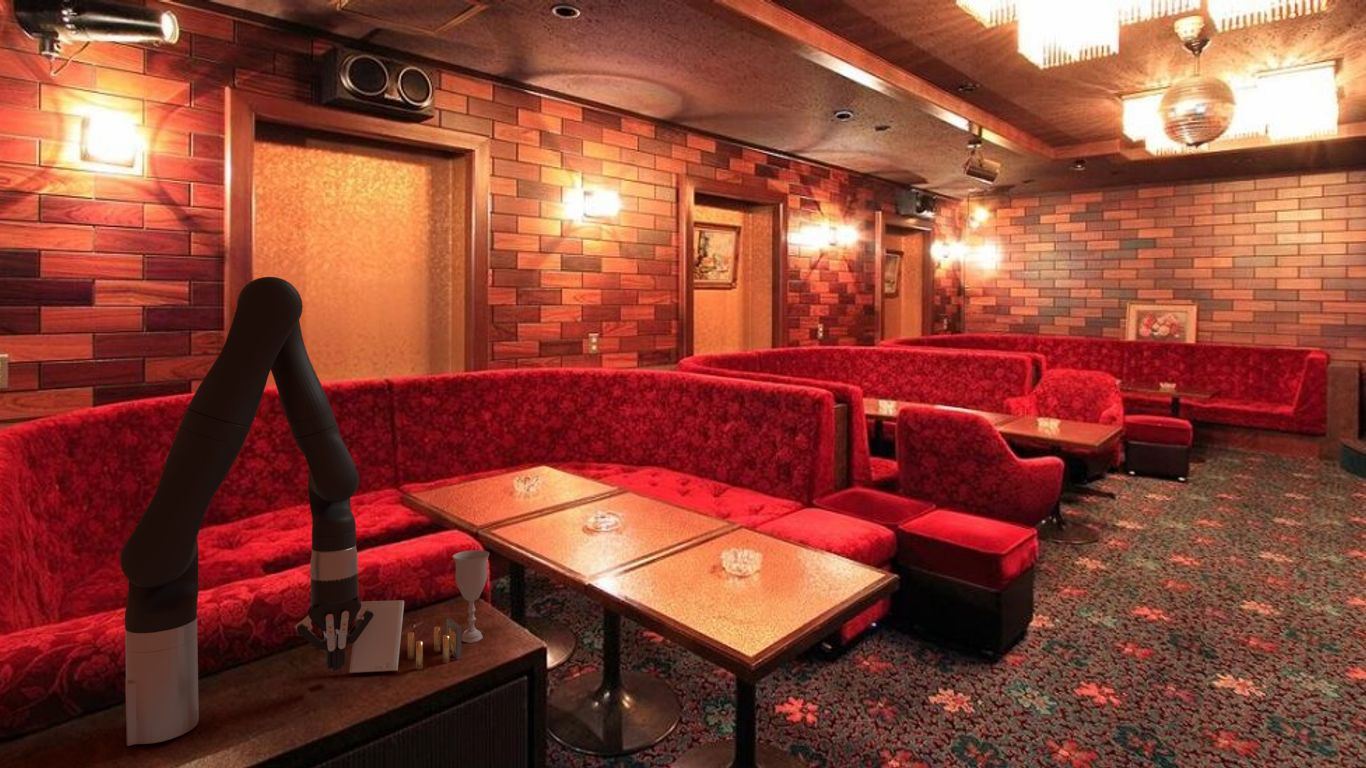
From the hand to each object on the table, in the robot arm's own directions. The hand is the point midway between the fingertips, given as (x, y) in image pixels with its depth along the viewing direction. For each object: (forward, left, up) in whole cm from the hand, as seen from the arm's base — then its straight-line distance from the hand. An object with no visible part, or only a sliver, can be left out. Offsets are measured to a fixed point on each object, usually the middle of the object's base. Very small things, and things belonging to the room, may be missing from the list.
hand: (335, 668), depth 127 cm
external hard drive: (+6, 0, -2) cm, 7 cm away
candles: (+16, 0, -2) cm, 17 cm away
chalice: (+26, +4, -3) cm, 26 cm away
